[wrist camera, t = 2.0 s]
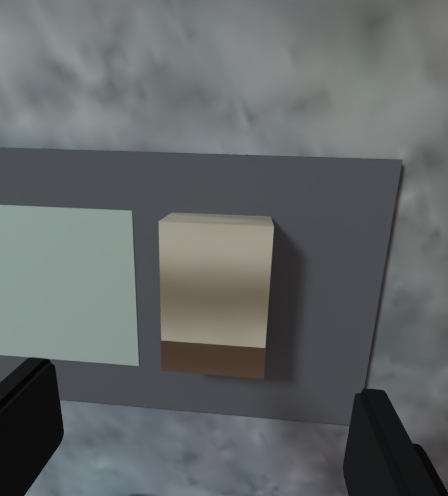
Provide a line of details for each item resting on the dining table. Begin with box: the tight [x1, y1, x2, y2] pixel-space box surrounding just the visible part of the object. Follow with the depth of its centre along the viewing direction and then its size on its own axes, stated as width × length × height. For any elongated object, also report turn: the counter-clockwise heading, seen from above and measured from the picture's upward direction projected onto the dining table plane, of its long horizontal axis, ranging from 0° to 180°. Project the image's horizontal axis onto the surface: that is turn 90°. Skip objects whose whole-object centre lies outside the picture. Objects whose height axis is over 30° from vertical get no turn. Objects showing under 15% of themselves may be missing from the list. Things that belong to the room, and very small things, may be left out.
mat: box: [0, 148, 402, 426], centre depth 22 cm, size 18×28×1 cm, turn 88°
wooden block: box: [159, 212, 274, 379], centre depth 20 cm, size 9×6×3 cm
